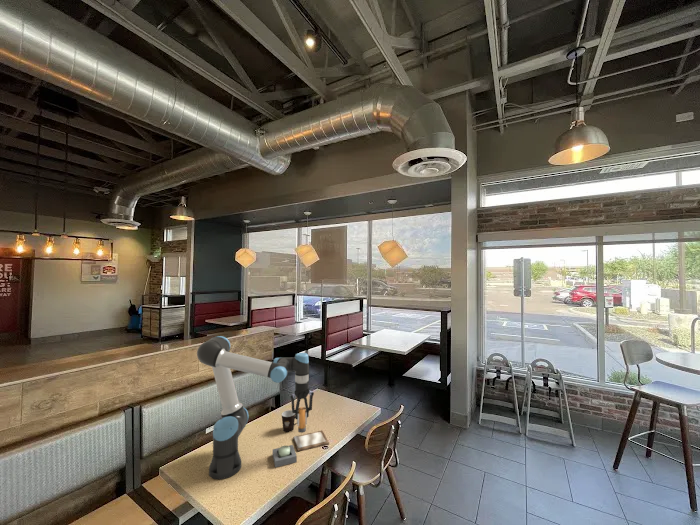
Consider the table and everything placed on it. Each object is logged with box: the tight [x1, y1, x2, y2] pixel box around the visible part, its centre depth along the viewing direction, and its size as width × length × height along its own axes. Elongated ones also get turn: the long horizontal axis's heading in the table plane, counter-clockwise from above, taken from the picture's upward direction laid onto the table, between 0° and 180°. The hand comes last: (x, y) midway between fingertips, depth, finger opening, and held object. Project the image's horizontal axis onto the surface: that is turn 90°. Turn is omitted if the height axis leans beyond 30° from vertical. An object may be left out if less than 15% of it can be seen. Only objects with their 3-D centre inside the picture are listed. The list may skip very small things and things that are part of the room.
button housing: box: [272, 444, 298, 468], centre depth 154 cm, size 11×11×3 cm
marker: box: [297, 406, 307, 434], centre depth 161 cm, size 4×4×12 cm
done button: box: [278, 445, 290, 458], centre depth 154 cm, size 6×6×3 cm
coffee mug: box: [281, 409, 297, 433], centre depth 182 cm, size 12×9×10 cm
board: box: [293, 430, 330, 452], centre depth 169 cm, size 18×14×2 cm
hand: (301, 423), depth 161 cm, fingers closed on marker, 3 cm apart
